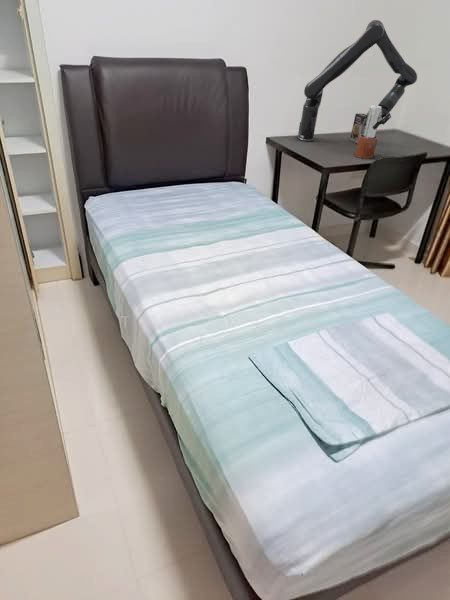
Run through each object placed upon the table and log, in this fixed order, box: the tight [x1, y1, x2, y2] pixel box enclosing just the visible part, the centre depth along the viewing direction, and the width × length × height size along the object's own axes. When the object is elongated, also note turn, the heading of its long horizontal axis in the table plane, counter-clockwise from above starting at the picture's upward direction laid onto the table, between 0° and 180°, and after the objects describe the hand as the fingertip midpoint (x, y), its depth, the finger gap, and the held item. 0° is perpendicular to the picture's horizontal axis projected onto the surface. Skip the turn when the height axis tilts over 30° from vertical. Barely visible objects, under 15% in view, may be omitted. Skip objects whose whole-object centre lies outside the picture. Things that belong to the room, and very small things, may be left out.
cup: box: [354, 134, 378, 160], centre depth 247 cm, size 10×10×11 cm
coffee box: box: [349, 113, 367, 145], centre depth 271 cm, size 9×6×16 cm
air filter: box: [363, 104, 382, 139], centre depth 242 cm, size 6×6×25 cm
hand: (369, 127), depth 240 cm, fingers closed on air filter, 5 cm apart
